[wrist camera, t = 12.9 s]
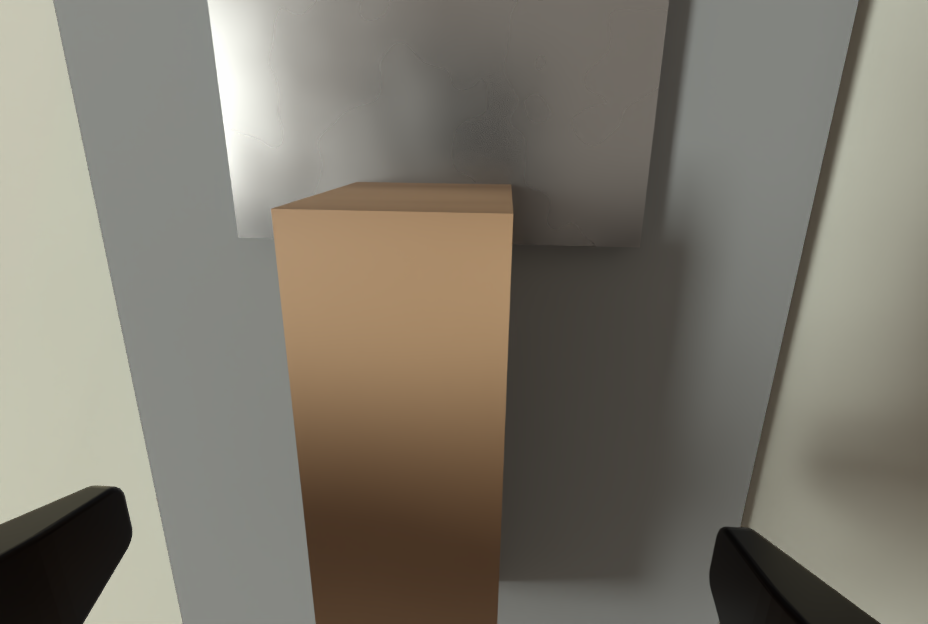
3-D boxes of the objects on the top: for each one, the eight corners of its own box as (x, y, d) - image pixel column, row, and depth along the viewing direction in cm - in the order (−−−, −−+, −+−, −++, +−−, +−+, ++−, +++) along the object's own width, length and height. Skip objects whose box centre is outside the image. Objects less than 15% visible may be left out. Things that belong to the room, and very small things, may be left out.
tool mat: (683, 720, 14) (690, 744, 13) (210, 677, 15) (198, 698, 14) (935, -459, 7) (974, -513, 6) (0, -405, 8) (-41, -448, 7)
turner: (592, 587, 12) (632, 797, 8) (293, 567, 12) (201, 755, 9) (678, -177, 7) (854, -494, 4) (205, -162, 8) (-65, -427, 4)
